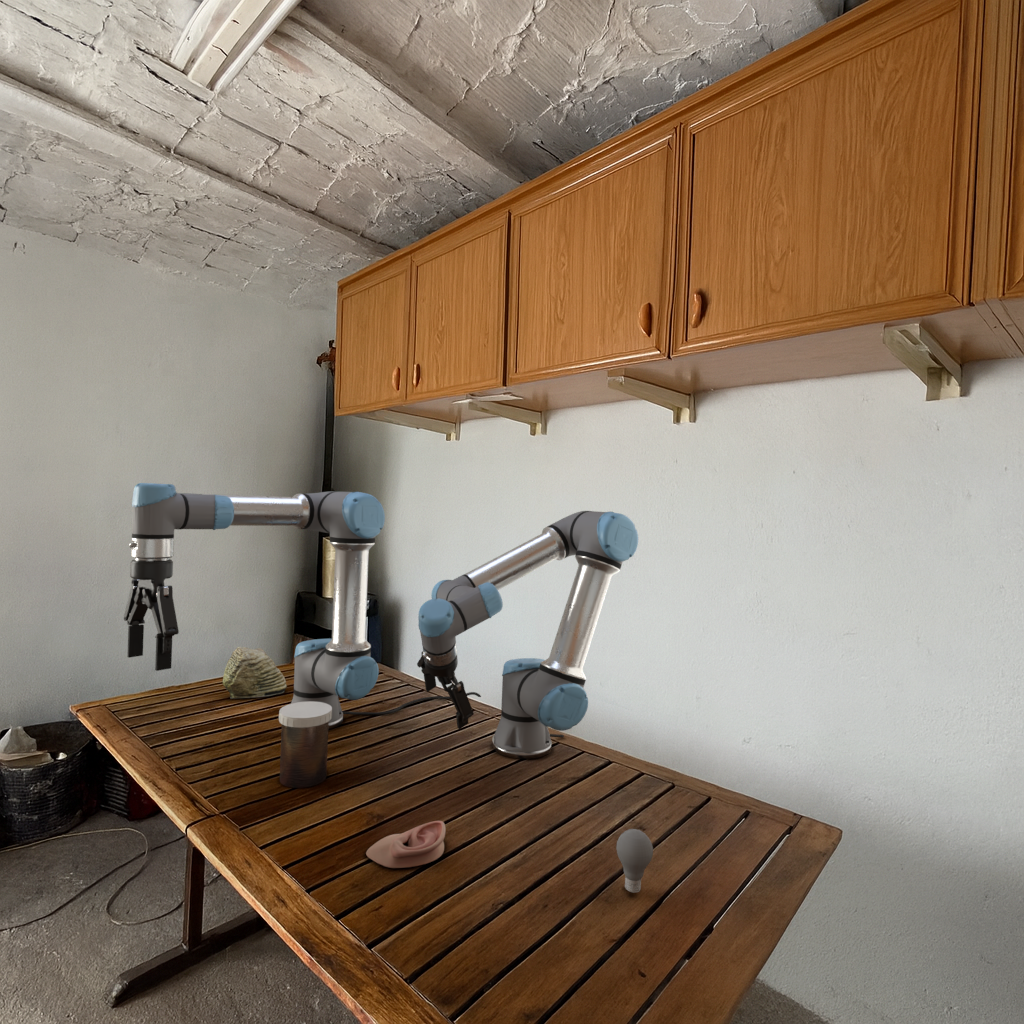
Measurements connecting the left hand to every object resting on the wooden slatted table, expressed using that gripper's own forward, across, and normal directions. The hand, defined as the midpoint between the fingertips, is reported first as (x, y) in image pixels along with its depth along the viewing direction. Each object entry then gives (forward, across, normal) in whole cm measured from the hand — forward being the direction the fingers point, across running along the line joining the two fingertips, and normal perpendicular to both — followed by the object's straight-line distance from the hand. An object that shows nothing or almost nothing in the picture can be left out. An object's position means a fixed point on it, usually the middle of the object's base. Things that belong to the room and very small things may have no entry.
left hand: (148, 662), depth 129 cm
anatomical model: (+28, +54, +23) cm, 65 cm away
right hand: (+16, +28, +59) cm, 67 cm away
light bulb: (+28, +90, +41) cm, 103 cm away
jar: (+28, +14, +28) cm, 42 cm away
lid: (+13, +14, +28) cm, 34 cm away
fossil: (+28, -47, +50) cm, 74 cm away
